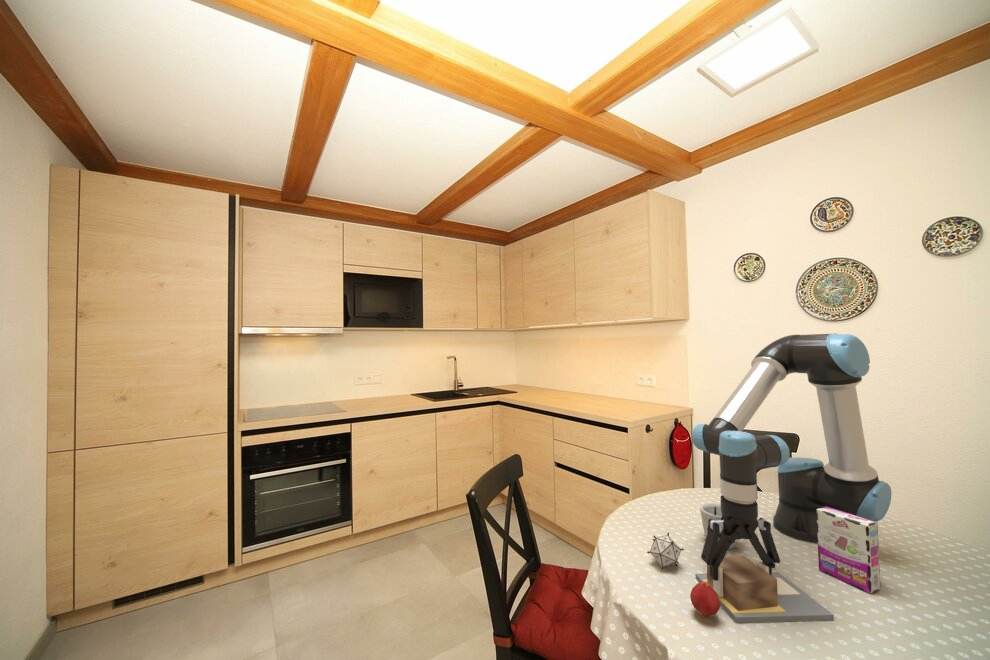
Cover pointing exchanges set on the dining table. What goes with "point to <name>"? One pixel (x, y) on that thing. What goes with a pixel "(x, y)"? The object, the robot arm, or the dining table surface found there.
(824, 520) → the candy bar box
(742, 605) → the walnut slab
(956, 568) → the dining table surface
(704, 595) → the red oval piece
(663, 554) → the game die
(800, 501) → the robot arm
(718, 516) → the mug
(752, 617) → the board
